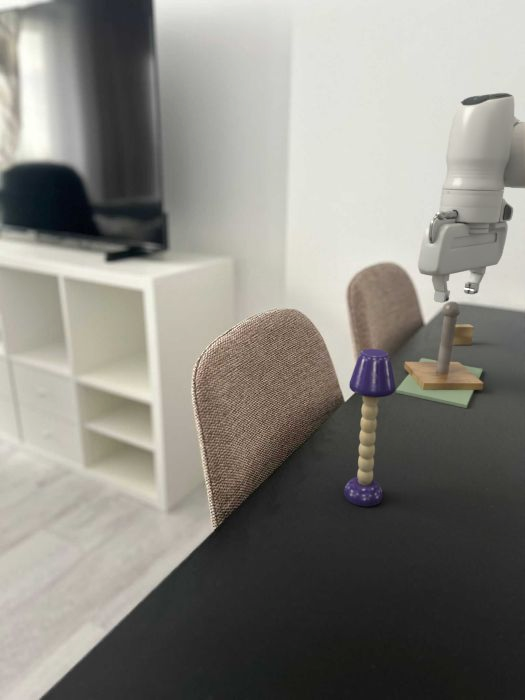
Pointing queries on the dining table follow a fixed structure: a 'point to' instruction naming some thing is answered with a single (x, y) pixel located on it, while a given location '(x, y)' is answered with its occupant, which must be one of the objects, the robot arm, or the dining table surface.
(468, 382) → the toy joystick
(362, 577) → the dining table surface
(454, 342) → the block
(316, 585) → the dining table surface
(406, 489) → the dining table surface
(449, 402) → the mat
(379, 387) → the toy lamp
